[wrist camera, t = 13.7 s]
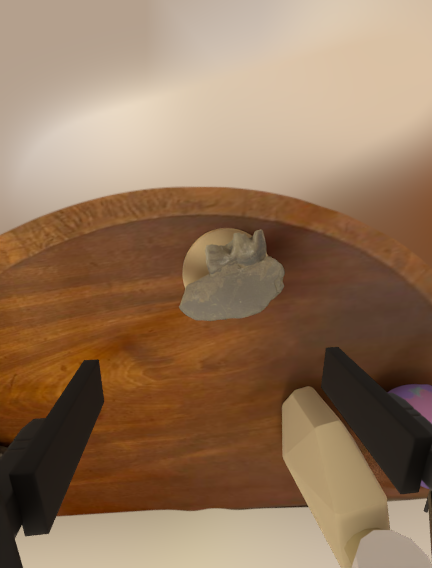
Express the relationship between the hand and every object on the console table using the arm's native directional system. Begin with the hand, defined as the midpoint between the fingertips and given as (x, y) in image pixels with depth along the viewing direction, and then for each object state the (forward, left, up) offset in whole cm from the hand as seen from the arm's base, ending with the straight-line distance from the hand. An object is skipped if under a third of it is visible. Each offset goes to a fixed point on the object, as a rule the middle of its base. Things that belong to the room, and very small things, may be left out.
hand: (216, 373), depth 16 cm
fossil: (0, +3, -25) cm, 25 cm away
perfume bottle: (+28, +19, -26) cm, 43 cm away
